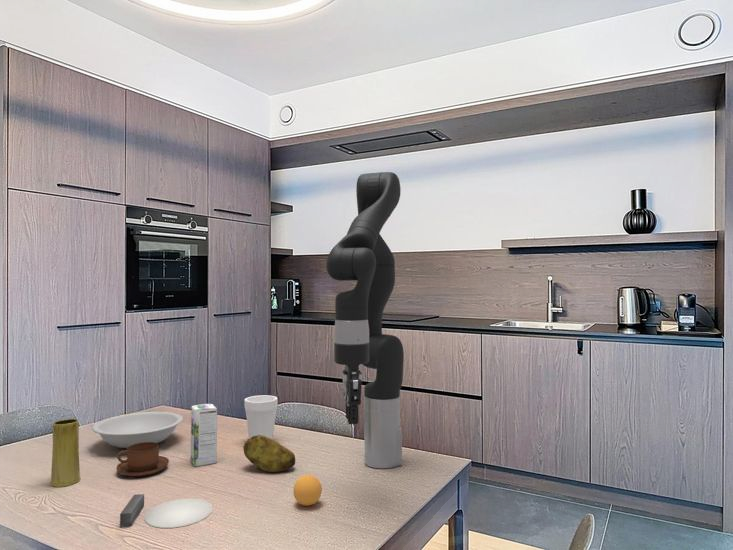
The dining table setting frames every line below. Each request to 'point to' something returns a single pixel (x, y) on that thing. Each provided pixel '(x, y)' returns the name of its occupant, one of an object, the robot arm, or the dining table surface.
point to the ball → (307, 490)
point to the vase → (65, 453)
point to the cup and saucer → (141, 460)
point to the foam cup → (261, 415)
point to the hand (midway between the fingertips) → (352, 420)
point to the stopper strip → (131, 510)
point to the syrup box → (203, 434)
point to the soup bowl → (137, 428)
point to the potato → (268, 454)
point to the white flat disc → (178, 513)
